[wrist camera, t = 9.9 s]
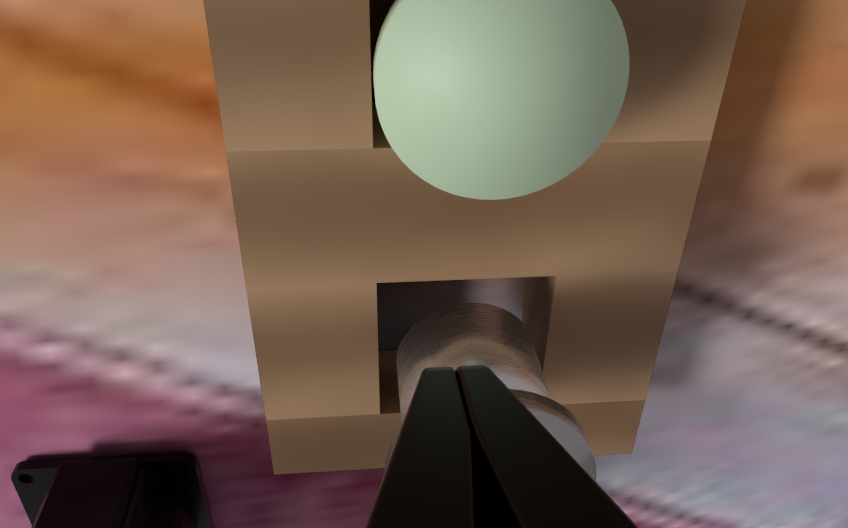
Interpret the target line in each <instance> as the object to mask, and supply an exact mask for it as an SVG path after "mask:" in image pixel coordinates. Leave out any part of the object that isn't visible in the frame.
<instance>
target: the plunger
mask: <svg viewBox="0 0 848 528" xmlns="http://www.w3.org/2000/svg"><path fill="white" fill-rule="evenodd" d="M396 364H397V376H398V388H399V400H400V412H401V423H402V424H403V421H404V419H405V416H406V413H407V411H408V408H409V405H410V402H411V400H412V397H413V394H414V391H415V389H416V386H417V383H418V380H419V378H420V375H421V372H422V371H423V369H425V368H429V367H452V368H453V369H454V370H456V368H457V367H459V366H469V365H485V366H487V367H489V368H490V369H491V370H492V371H493V372H494V373H495V375H496V376H497V377H498V378H499V379H500V380H501V381H502V382H503V383H504V384H505V385H506V386H507V387H508V388H509V390H510V391H511V392H512V393H513V394H514V395H515V396H516V397H517V398H518V399H519V400H520V401H521V402H522V403H523V405H524V406H525V407H526V408H527V409H528V410H529V411H530V412H531V413H532V414H533V415H534V416H535V417H536V418H537V420H538V421H539V422H540V423H541V424H542V425H543V426H544V427H545V428H546V429H547V430H548V431H549V432H550V433H551V435H552V436H553V437H554V438H555V439H556V440H557V441H558V442H559V443H560V444H561V445H562V446H563V447H564V448H565V450H566V451H567V452H568V453H569V454H570V455H571V456H572V457H573V458H574V459H575V460H576V461H577V462H578V463H579V465H580V466H581V467H582V468H583V469H584V470H585V471H586V472H587V473H588V474H589V475H590V476H591V477H592V478H593V480H594V481H596V465H595V461H594V458H593V455H592V452H591V449H590V447H589V444H588V441H587V438H586V436H585V433H584V430H583V428H582V426H581V424H580V423H579V421H578V420H577V419H576V417H575V416H574V415H573V414H572V413H571V412H570V411H569V410H568V409H567V408H565V407H564V406H562V405H561V404H559V403H558V402H556V401H554V400H552V399H551V396H550V393H549V390H548V387H547V384H546V381H545V378H544V375H543V372H542V369H541V366H540V363H539V360H538V357H537V354H536V351H535V348H534V345H533V341H532V338H531V335H530V333H529V331H528V329H527V328H526V327H525V325H524V324H523V323H522V322H521V321H520V320H519V319H518V318H517V317H516V316H514V315H513V314H511V313H510V312H508V311H506V310H504V309H501V308H499V307H496V306H492V305H488V304H480V303H465V304H457V305H452V306H448V307H445V308H441V309H439V310H437V311H434V312H432V313H430V314H428V315H427V316H425V317H423V318H422V319H421V320H419V321H418V322H417V323H416V324H414V325H413V326H412V327H411V328H410V329H409V331H408V332H407V333H406V334H405V336H404V338H403V339H402V341H401V343H400V345H399V348H398V352H397V359H396ZM399 432H400V431H399ZM398 435H399V433H398V434H397V435H396V437H395V438H394V440H393V441H392V443H391V446H390V448H389V450H388V453H387V457H386V460H385V471H386V468H387V465H388V463H389V460H390V457H391V454H392V452H393V449H394V446H395V443H396V441H397V438H398Z"/></svg>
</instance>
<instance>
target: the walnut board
mask: <svg viewBox="0 0 848 528" xmlns="http://www.w3.org/2000/svg"><path fill="white" fill-rule="evenodd" d="M203 1H204V8H205V15H206V21H207V28H208V35H209V42H210V48H211V55H212V62H213V68H214V75H215V82H216V89H217V95H218V102H219V109H220V115H221V122H222V129H223V135H224V142H225V149H226V156H227V162H228V169H229V176H230V182H231V189H232V196H233V203H234V209H235V216H236V223H237V229H238V236H239V243H240V250H241V256H242V263H243V270H244V276H245V283H246V290H247V297H248V303H249V310H250V317H251V323H252V330H253V337H254V343H255V350H256V357H257V364H258V370H259V377H260V384H261V390H262V397H263V404H264V411H265V417H266V424H267V431H268V437H269V444H270V451H271V458H272V464H273V471H274V475H275V474H292V473H309V472H326V471H343V470H359V469H376V468H385V460H386V457H387V453H388V450H389V448H390V446H391V443H392V441H393V440H394V438H395V437H396V435H397V434H398V433H399V431H400V430H401V427H402V423H401V412H400V400H399V388H398V376H397V364H396V359H397V352H398V350H386V351H378V321H377V283H388V282H414V281H439V280H465V279H491V278H517V277H527V281H526V290H525V299H524V308H523V316H522V323H523V324H524V325H525V327H526V328H527V329H528V331H529V333H530V335H531V338H532V341H533V345H534V348H535V351H536V354H537V357H538V360H539V363H540V366H541V369H542V372H543V375H544V378H545V381H546V384H547V387H548V390H549V393H550V396H551V399H552V400H554V401H556V402H558V403H559V404H561V405H562V406H564V407H565V408H567V409H568V410H569V411H570V412H571V413H572V414H573V415H574V416H575V417H576V419H577V420H578V421H579V423H580V424H581V426H582V428H583V430H584V433H585V436H586V438H587V441H588V444H589V447H590V449H591V452H592V455H593V456H595V455H612V454H629V453H632V450H633V446H634V442H635V438H636V434H637V430H638V426H639V422H640V418H641V414H642V410H643V407H644V403H645V399H646V395H647V391H648V387H649V383H650V379H651V375H652V371H653V367H654V363H655V359H656V355H657V351H658V347H659V344H660V340H661V336H662V332H663V328H664V324H665V320H666V316H667V312H668V308H669V304H670V300H671V296H672V292H673V288H674V284H675V281H676V277H677V273H678V269H679V265H680V261H681V257H682V253H683V249H684V245H685V241H686V237H687V233H688V229H689V225H690V221H691V218H692V214H693V210H694V206H695V202H696V198H697V194H698V190H699V186H700V182H701V178H702V174H703V170H704V166H705V162H706V158H707V155H708V151H709V147H710V143H711V139H712V135H713V131H714V127H715V123H716V119H717V115H718V111H719V107H720V103H721V99H722V96H723V92H724V88H725V84H726V80H727V76H728V72H729V68H730V64H731V60H732V56H733V52H734V48H735V44H736V40H737V36H738V33H739V29H740V25H741V21H742V17H743V13H744V9H745V5H746V1H747V0H611V1H612V3H613V4H614V5H615V7H616V10H617V12H618V14H619V16H620V18H621V20H622V23H623V26H624V29H625V33H626V36H627V42H628V48H629V67H630V69H629V78H628V86H627V90H626V94H625V98H624V102H623V104H622V107H621V110H620V112H619V115H618V117H617V119H616V121H615V123H614V125H613V127H612V129H611V130H610V132H609V133H608V135H607V136H606V138H605V139H604V141H603V142H602V144H601V145H600V146H599V147H598V148H597V150H596V151H595V152H594V153H593V154H592V155H591V156H590V157H589V158H588V159H587V160H586V161H585V162H584V163H583V164H582V165H581V166H580V167H578V168H577V169H576V170H574V171H573V172H572V173H570V174H569V175H568V176H566V177H565V178H563V179H561V180H560V181H558V182H556V183H554V184H553V185H550V186H548V187H546V188H544V189H542V190H539V191H536V192H533V193H530V194H527V195H524V196H519V197H514V198H509V199H498V200H482V199H473V198H466V197H462V196H458V195H454V194H451V193H448V192H446V191H443V190H441V189H438V188H436V187H434V186H433V185H431V184H429V183H427V182H426V181H424V180H423V179H421V178H420V177H419V176H417V175H416V174H415V173H413V172H412V171H411V170H410V169H409V168H408V167H407V166H406V165H405V164H404V163H403V162H402V161H401V160H400V158H399V157H398V156H397V154H396V153H395V152H394V150H393V149H392V147H391V145H390V144H389V142H388V140H387V138H386V136H385V134H384V132H383V129H382V126H381V124H380V121H379V117H378V113H377V109H376V103H375V102H372V90H371V52H370V13H369V0H203Z"/></svg>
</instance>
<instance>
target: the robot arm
mask: <svg viewBox="0 0 848 528" xmlns="http://www.w3.org/2000/svg"><path fill="white" fill-rule="evenodd" d="M181 465H185V466H181ZM11 480H12V482H13V484H14V486H15V489H16V491H17V493H18V495H19V497H20V500H21V502H22V504H23V506H24V508H25V511H26V513H27V515H28V517H29V520H30V522H31V524H32V528H213V524H212V520H211V515H210V511H209V507H208V502H207V498H206V494H205V489H204V485H203V481H202V477H201V472H200V468H199V464H198V460H197V458H196V457H195V456H194V455H193V454H190V453H187V452H173V453H155V454H137V455H120V456H102V457H84V458H66V459H49V460H31V461H22V462H20V463H18V464H17V465H16V467H15V469H14V471H13V473H12V475H11ZM365 528H638V527H637V526H636V525H635V523H634V522H633V521H632V520H631V519H630V518H629V517H628V516H627V515H626V514H625V513H624V512H623V511H622V510H621V508H620V507H619V506H618V505H617V504H616V503H615V502H614V501H613V500H612V499H611V498H610V497H609V496H608V495H607V493H606V492H605V491H604V490H603V489H602V488H601V487H600V486H599V485H598V484H597V483H596V482H595V481H594V480H593V478H592V477H591V476H590V475H589V474H588V473H587V472H586V471H585V470H584V469H583V468H582V467H581V466H580V465H579V463H578V462H577V461H576V460H575V459H574V458H573V457H572V456H571V455H570V454H569V453H568V452H567V451H566V450H565V448H564V447H563V446H562V445H561V444H560V443H559V442H558V441H557V440H556V439H555V438H554V437H553V436H552V435H551V433H550V432H549V431H548V430H547V429H546V428H545V427H544V426H543V425H542V424H541V423H540V422H539V421H538V420H537V418H536V417H535V416H534V415H533V414H532V413H531V412H530V411H529V410H528V409H527V408H526V407H525V406H524V405H523V403H522V402H521V401H520V400H519V399H518V398H517V397H516V396H515V395H514V394H513V393H512V392H511V391H510V390H509V388H508V387H507V386H506V385H505V384H504V383H503V382H502V381H501V380H500V379H499V378H498V377H497V376H496V375H495V373H494V372H493V371H492V370H491V369H490V368H489V367H487V366H485V365H469V366H459V367H457V368H456V370H454V369H453V368H452V367H429V368H425V369H423V371H422V372H421V375H420V378H419V380H418V383H417V386H416V389H415V391H414V394H413V397H412V400H411V402H410V405H409V408H408V411H407V413H406V416H405V419H404V421H403V424H402V427H401V430H400V432H399V435H398V438H397V441H396V443H395V446H394V449H393V452H392V454H391V457H390V460H389V463H388V465H387V468H386V471H385V474H384V476H383V479H382V482H381V484H380V487H379V490H378V493H377V495H376V498H375V501H374V504H373V506H372V509H371V512H370V515H369V517H368V520H367V523H366V526H365Z"/></svg>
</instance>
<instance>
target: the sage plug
mask: <svg viewBox="0 0 848 528" xmlns="http://www.w3.org/2000/svg"><path fill="white" fill-rule="evenodd" d="M629 69H630V67H629V48H628V42H627V36H626V33H625V29H624V26H623V23H622V20H621V18H620V16H619V14H618V12H617V10H616V7H615V5H614V4H613V3H612V1H611V0H391V2H390V8H389V12H388V14H387V16H386V18H385V20H384V23H383V25H382V27H381V30H380V33H379V36H378V39H377V43H376V48H375V54H374V62H373V81H374V92H375V103H376V109H377V113H378V117H379V121H380V124H381V126H382V129H383V132H384V134H385V136H386V138H387V140H388V142H389V144H390V145H391V147H392V149H393V150H394V152H395V153H396V154H397V156H398V157H399V158H400V160H401V161H402V162H403V163H404V164H405V165H406V166H407V167H408V168H409V169H410V170H411V171H412V172H413V173H415V174H416V175H417V176H419V177H420V178H421V179H423V180H424V181H426V182H427V183H429V184H431V185H433V186H434V187H436V188H438V189H441V190H443V191H446V192H448V193H451V194H454V195H458V196H462V197H466V198H473V199H482V200H498V199H509V198H514V197H519V196H524V195H527V194H530V193H533V192H536V191H539V190H542V189H544V188H546V187H548V186H550V185H553V184H554V183H556V182H558V181H560V180H561V179H563V178H565V177H566V176H568V175H569V174H570V173H572V172H573V171H574V170H576V169H577V168H578V167H580V166H581V165H582V164H583V163H584V162H585V161H586V160H587V159H588V158H589V157H590V156H591V155H592V154H593V153H594V152H595V151H596V150H597V148H598V147H599V146H600V145H601V144H602V142H603V141H604V139H605V138H606V136H607V135H608V133H609V132H610V130H611V129H612V127H613V125H614V123H615V121H616V119H617V117H618V115H619V112H620V110H621V107H622V104H623V102H624V98H625V94H626V90H627V86H628V78H629Z"/></svg>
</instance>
